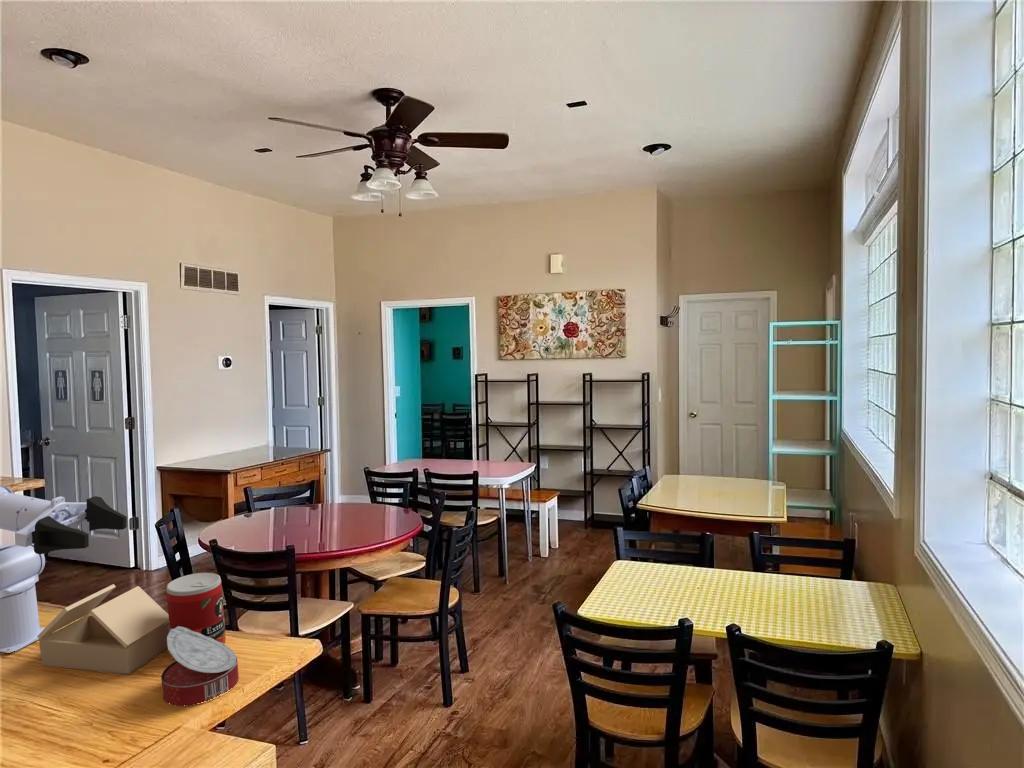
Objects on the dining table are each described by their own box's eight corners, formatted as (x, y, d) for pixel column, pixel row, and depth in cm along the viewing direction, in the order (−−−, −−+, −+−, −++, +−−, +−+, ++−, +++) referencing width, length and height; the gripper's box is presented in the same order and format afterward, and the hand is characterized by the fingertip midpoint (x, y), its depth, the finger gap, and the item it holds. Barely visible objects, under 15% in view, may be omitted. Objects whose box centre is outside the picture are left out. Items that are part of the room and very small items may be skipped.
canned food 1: (213, 660, 102) (207, 591, 101) (161, 661, 102) (155, 592, 101) (235, 635, 110) (229, 571, 108) (187, 637, 110) (181, 572, 109)
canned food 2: (201, 699, 100) (218, 629, 103) (246, 709, 95) (263, 635, 98) (130, 700, 91) (152, 623, 94) (176, 712, 86) (197, 630, 89)
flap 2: (170, 620, 107) (172, 617, 106) (125, 648, 98) (127, 645, 98) (136, 588, 108) (138, 585, 107) (89, 613, 99) (91, 610, 99)
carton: (41, 665, 102) (39, 640, 102) (91, 637, 111) (89, 614, 110) (128, 675, 98) (126, 649, 98) (173, 645, 107) (170, 621, 107)
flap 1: (39, 639, 102) (37, 636, 102) (89, 613, 110) (87, 610, 110) (67, 611, 100) (64, 608, 100) (115, 586, 108) (113, 583, 108)
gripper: (-11, 508, 99) (67, 524, 97) (70, 479, 113) (140, 492, 111) (-10, 552, 100) (68, 569, 98) (70, 518, 114) (140, 532, 112)
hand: (106, 531), depth 105 cm, fingers open, 7 cm apart
